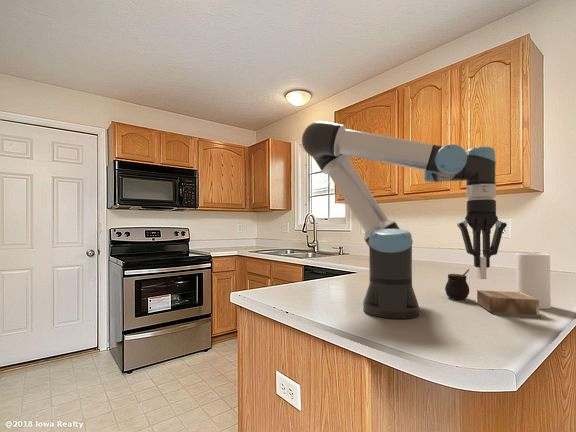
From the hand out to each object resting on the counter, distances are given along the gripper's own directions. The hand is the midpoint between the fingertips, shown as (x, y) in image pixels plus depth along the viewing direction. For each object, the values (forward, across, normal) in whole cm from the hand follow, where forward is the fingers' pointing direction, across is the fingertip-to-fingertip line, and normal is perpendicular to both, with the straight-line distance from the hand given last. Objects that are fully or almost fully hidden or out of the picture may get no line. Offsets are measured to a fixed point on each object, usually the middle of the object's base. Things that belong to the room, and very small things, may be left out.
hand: (481, 278), depth 94 cm
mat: (+9, +6, 0) cm, 11 cm away
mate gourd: (+9, -3, +12) cm, 16 cm away
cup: (+9, +17, +8) cm, 21 cm away
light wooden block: (+7, 0, 0) cm, 7 cm away
